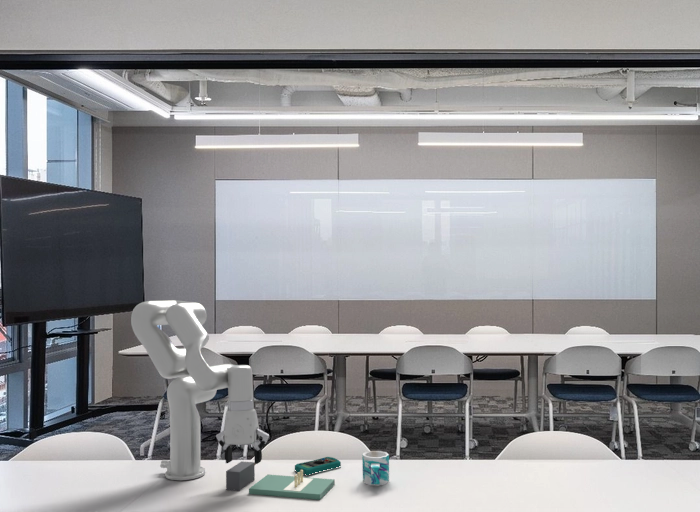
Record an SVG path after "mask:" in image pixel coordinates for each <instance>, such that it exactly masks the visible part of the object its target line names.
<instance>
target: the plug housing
mask: <svg viewBox="0 0 700 512" xmlns="http://www.w3.org/2000/svg"><path fill="white" fill-rule="evenodd" d="M256 465H257V464H255V461H240V462H238V463H237V464H235V465H234V466H232V467H231V468H230V467H229V469H227V470H226V471H225V489H226V491H237V492H240V491H242V490H243V489H244V488H246V487H248V485H250V484H251V483H253V482H254V481H255V479H256V478H255V466H256Z"/></svg>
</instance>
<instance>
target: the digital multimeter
mask: <svg viewBox="0 0 700 512" xmlns="http://www.w3.org/2000/svg"><path fill="white" fill-rule="evenodd" d="M339 466H341V467H342V462H341V461H340V459H338V458H335V457H332V456H325V457H322V458H318V459H313V460H309V461H304V462H300V463H296V464H295V465H294V471H295V470H296V471H297V472H300V470H303V474H306V475H309V474H312V473H315V472H319V471H323V470H327V469H331V468H336V467H339ZM336 469H337V468H336ZM296 471H295V472H296ZM297 472H296V473H297ZM306 475H305V476H306ZM309 476H310V475H309Z"/></svg>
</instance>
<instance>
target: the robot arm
mask: <svg viewBox="0 0 700 512" xmlns="http://www.w3.org/2000/svg"><path fill="white" fill-rule="evenodd" d="M207 313H208V312H207V311H206V309H205V306H203V305H202V304H201V303H199V302H195V301H186V300H185V301H184V300H178V299H177V300H175V299H174V300H173V299H170V300H168V299H166V300H147V301H142V302H140V303H138V304H136V306H135V307H134V308H133V310H132V312H131V315H130V317H131V318H130V319H131V320H130V323H131V329H132V331H133V333H134V335H135V337H136V338H137V340H138V341H139V343H141V345H142V346H143V347H144V349H145V351H146V352H147V355H148V356H149V358H150V359H151V360H150V361H151V362H152V363H153V365H154V367H155V369H156V370H157V372H158V374H159V375H160V376H161V377H162V378H164V379H167V380H168V379H169V380H170V379H173V380H172V381H171V382H170V383H169V384H168V386H167V389H166V396H167V397H166V399H167V402H168V408H169V409H168V410H169V416H170V417H169V425H170V426H169V427H170V429H169V431H170V433H169V436H170V438H169V439H170V441H169V445H170V446H169V447H170V449H169V450H170V451H169V460H167V459H162V460H161V462H160V465H159V467H160V468H161V469H162V468H163V469H165V468H166V471H165V473H164V476H165V478H166V479H168V480H172V481H189V480H194V479H199V478H201V477H203V476H204V475H205V474H206V468H204V467H202V466H201V416H200V412H199V411H198V408H197V406H196V405H197V404H201V403H204V402H207V401H210V400H212V399H213V398H214V397H215V396H216V394H217V390H223V389H228V390H227V392H228V393H227V394H228V395H227V396H228V401H225V402H224V406H225V407H227V409H228V410H226V412H225V418H224V428H223V430H222V431H219V433H217V434H216V435H215V437H216V439H217V442H218V444H219V445H220V446H221V447H222V450H223V452H224V460H225V464H229V463H231V462H232V461H233V448H232V446H233V445H234V446H235V445H237V446H250V445H252V446H253V448H254V449H255V450H254V452H253V457H254V462H255V464H256V465H258V464H260V463H261V462H262V459H263V456H262V455H263V454H262V452H263V451H262V449H263V448H264V446H266V444H267V443H268V440H269V437H270V435H269V433H267V432H265V431H264V430H262V429H260V426H259V419H258V414H257V410H256V409H255V407H254V406H255V404H254V386H253V385H254V384H253V368H252V367H251V366H250V365H248V364H237V365H236V364H232V363H222V364H216V365H211V366H210V365H209V364H208V363H207V362H206V360H205V359H204V357H203V355H202V352H201V351H202V350H201V349H203V348H204V347H205V346H206V345H207V343H208V342H209V340H210V334H209V332H207V331H206V329H205V327H204V324H205V323H206V321H207V317H208V315H207ZM166 325H167V326H169V327H170V328H171V329H172V331H173V333H174V334H175V336H176V337H177V338H178V340H179V341H180V343H181V345H182V346H183V348H178V347H176V346H175V345H174V342H173V341H172V339H171V338H170V337H169V335H168V334H167V333H166V332H165V331H164V330H162V329H161V328H159V326H166ZM223 436H224V437H223ZM260 437H262V440H261V441H260Z"/></svg>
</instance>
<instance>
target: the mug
mask: <svg viewBox="0 0 700 512" xmlns="http://www.w3.org/2000/svg"><path fill="white" fill-rule="evenodd" d="M361 455H362V456H361V458H362V459H361V460H362V482H363V483H364V484H366V485H369V486H383V485H387V484H388V483H390V454H389V453H388V452H387V451H381V450H371V451H370V450H368V451H364V452H363V453H362V454H361Z"/></svg>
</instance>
